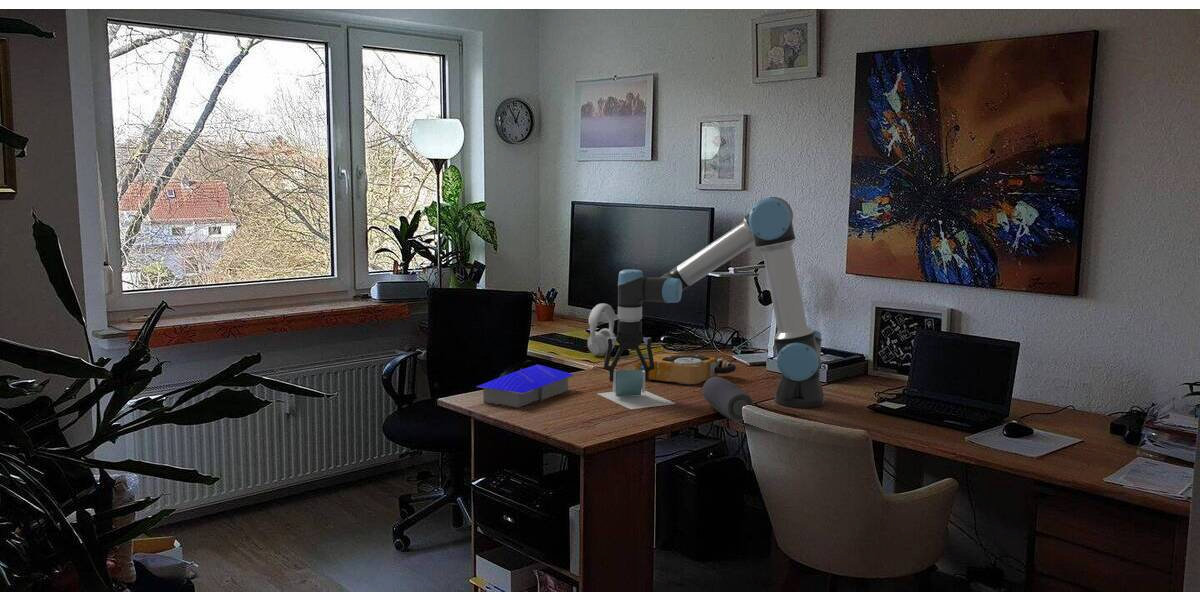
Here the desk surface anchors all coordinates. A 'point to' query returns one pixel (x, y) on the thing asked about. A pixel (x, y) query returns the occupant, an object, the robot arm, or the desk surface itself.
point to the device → (685, 368)
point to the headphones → (599, 339)
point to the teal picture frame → (628, 382)
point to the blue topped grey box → (526, 386)
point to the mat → (637, 400)
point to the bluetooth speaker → (726, 398)
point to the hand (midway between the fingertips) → (628, 391)
